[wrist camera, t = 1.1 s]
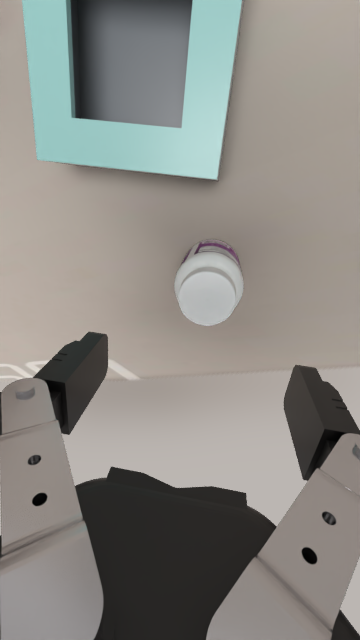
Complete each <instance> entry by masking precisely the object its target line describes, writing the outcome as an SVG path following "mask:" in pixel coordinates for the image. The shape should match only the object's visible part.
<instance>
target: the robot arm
mask: <svg viewBox="0 0 360 640" xmlns="http://www.w3.org/2000/svg"><path fill="white" fill-rule="evenodd" d="M107 368H108V337H107V335H106V334H101V333H95V332H88V333H87V334H86V335H85V336H84V337H83V338H82V339H81V340H80V341H74V342H72V343H69V344H67V345H65V346H64V347H63V348H62V349H61V350H60V351H59V352H58V354H56V355H55V356H54V357H53V358H52V360H50V361H49V362H48V363H47V364H46V365H45V366H44V367H43V368H42V369H41V370H40V371H39V372H38V373H37V374H36V375H35V376H34V377H33V378H25V379H20V380H17V381H15V382H12V383H11V384H9V385H8V386H6V387H5V388H4V389H3V391H2V392H0V487H1V491H0V492H1V536H0V640H360V635H359V634H358V633H357V631H356V630H355V629H354V627H353V626H352V625H351V624H350V622H349V621H348V620H347V618H346V617H345V615H344V614H343V613H342V611H341V610H340V607H341V604H342V602H343V599H344V596H345V594H346V591H347V589H348V586H349V583H350V580H351V578H352V575H353V573H354V570H355V567H356V565H357V562H358V559H359V557H360V430H359V429H358V427H357V425H356V423H355V422H354V419H353V418H352V416H351V414H350V412H349V411H348V410H347V407H346V405H345V403H344V402H343V400H342V398H341V396H340V394H339V393H338V391H337V390H336V389H335V388H334V387H333V386H332V385H330V384H329V383H328V382H324V381H322V379H321V377H320V375H319V373H318V371H317V369H316V368H313V367H307V366H301V365H295V367H294V369H293V371H292V374H291V378H290V381H289V384H288V387H287V390H286V393H285V397H284V410H285V414H286V418H287V422H288V425H289V429H290V432H291V436H292V440H293V444H294V447H295V451H296V455H297V458H298V462H299V466H300V470H301V473H302V477H303V479H304V480H307V481H308V482H307V483H306V485H305V486H304V488H303V489H302V491H301V492H300V494H299V495H298V497H297V498H296V499H295V501H294V502H293V504H292V505H291V507H290V508H289V510H288V511H287V513H286V514H285V516H284V517H283V519H282V520H281V522H280V523H279V524H278V526H277V527H276V526H275V525H274V524H273V523H272V522H271V521H270V520H269V519H267V518H266V517H265V516H264V515H262V514H261V513H260V512H258V511H256V510H255V509H253V508H251V507H249V506H247V500H246V493H243V492H238V491H233V490H228V489H222V488H217V487H212V486H211V487H192V488H175V487H172V486H170V485H168V484H166V483H164V482H161V481H159V480H157V479H155V478H153V477H150V476H148V475H147V474H144V473H141V472H136V471H130V470H125V469H120V468H115V467H111V468H110V471H109V473H108V476H107V478H99V479H94V480H90V481H87V482H84V483H81V484H79V485H76V486H75V485H74V482H73V477H72V474H71V469H70V465H69V461H68V458H67V453H66V450H65V445H64V441H63V438H62V433H63V434H68V435H69V434H70V433H71V431H72V430H73V428H74V426H75V425H76V423H77V422H78V420H79V418H80V417H81V415H82V414H83V412H84V410H85V409H86V407H87V406H88V404H89V402H90V400H91V399H92V398H93V396H94V394H95V393H96V391H97V389H98V388H99V386H100V384H101V383H102V381H103V380H104V378H105V376H106V373H107Z"/></svg>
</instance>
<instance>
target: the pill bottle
mask: <svg viewBox="0 0 360 640" xmlns="http://www.w3.org/2000/svg"><path fill="white" fill-rule="evenodd" d="M243 289H244V282H243V276H242V272H241V268H240V264H239V260H238V257H237V255H236V253H235V251H234V250H233V249H232V248H231V247H230V246H229V245H228V244H226V243H224V242H222V241H219V240H213V239H212V240H204V241H201V242H199V243H197V244H196V245H194V246H193V247H192V248H191V249H190V250H189V252H188V253H187V255H186V256H185V258H184V260H183V262H182V264H181V266H180V268H179V269H178V271H177V273H176V277H175V282H174V290H175V295H176V298H177V300H178V302H179V306H180V309H181V311H182V313H183V314H184V315H185V317H186V318H187V319H189V320H190V321H192V322H194V323H196V324H199V325H203V326H212V325H216V324H219V323H221V322H223V321H224V320H226V319H227V318H228V317H229V316H230V315H231V313H232V312H233V310H234V308H235V307H236V306H237V305H238V303H239V301H240V299H241V297H242V294H243Z"/></svg>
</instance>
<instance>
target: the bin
mask: <svg viewBox="0 0 360 640" xmlns="http://www.w3.org/2000/svg"><path fill="white" fill-rule="evenodd" d="M22 4H23V15H24V26H25V36H26V47H27V57H28V68H29V79H30V89H31V100H32V110H33V121H34V132H35V142H36V153H37V160H42V161H49V162H56V163H63V164H70V165H77V166H87V167H96V168H105V169H114V170H123V171H132V172H141V173H150V174H159V175H168V176H177V177H186V178H195V179H204V180H213V181H219V174H220V167H221V160H222V153H223V146H224V139H225V132H226V125H227V118H228V111H229V104H230V97H231V90H232V83H233V76H234V69H235V62H236V55H237V48H238V41H239V34H240V26H241V19H242V12H243V5H244V0H22Z"/></svg>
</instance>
